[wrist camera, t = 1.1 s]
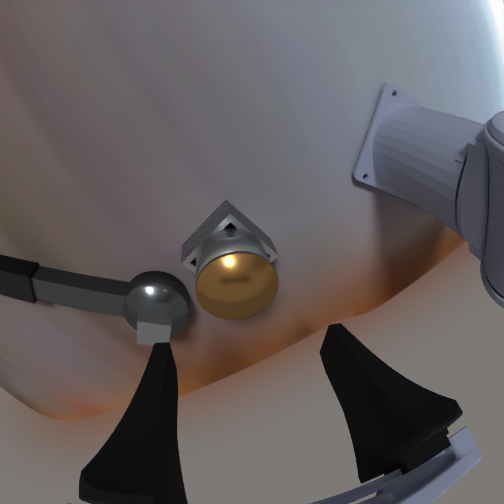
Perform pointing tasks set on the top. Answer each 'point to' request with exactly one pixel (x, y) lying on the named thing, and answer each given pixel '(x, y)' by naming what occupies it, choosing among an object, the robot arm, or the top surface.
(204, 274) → the socket
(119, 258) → the top surface
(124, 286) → the ratchet
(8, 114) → the top surface
